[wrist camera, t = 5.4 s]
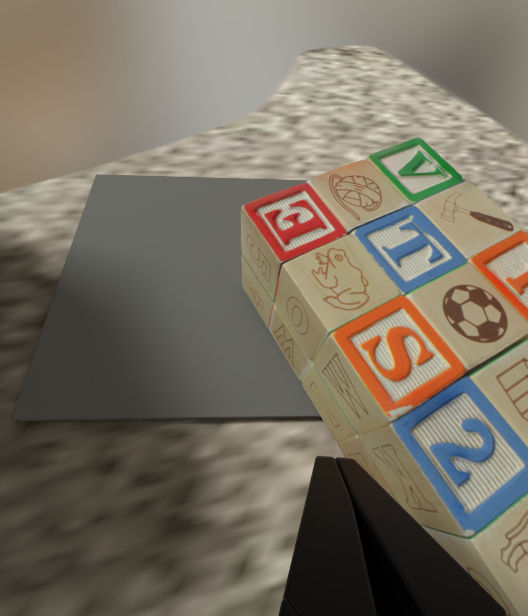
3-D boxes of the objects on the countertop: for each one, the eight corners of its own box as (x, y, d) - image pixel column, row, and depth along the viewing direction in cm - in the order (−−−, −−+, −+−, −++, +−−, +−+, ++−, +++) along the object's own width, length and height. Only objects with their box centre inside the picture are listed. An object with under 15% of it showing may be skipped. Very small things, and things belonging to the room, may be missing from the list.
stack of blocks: (234, 200, 12) (463, 116, 15) (237, 286, 18) (405, 210, 21) (991, 1291, 4) (1128, 635, 8) (564, 825, 10) (752, 567, 13)
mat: (528, 414, 16) (535, 412, 15) (16, 421, 14) (10, 419, 14) (435, 188, 24) (438, 184, 23) (98, 179, 22) (96, 174, 22)
